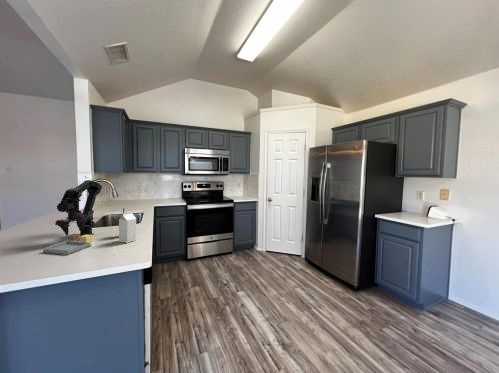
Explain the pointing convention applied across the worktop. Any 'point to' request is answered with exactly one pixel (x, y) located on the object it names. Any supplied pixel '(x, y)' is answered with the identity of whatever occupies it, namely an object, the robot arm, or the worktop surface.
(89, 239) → the mustard block
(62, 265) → the worktop surface
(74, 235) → the walnut block
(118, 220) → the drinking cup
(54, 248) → the tray
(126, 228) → the milk carton
